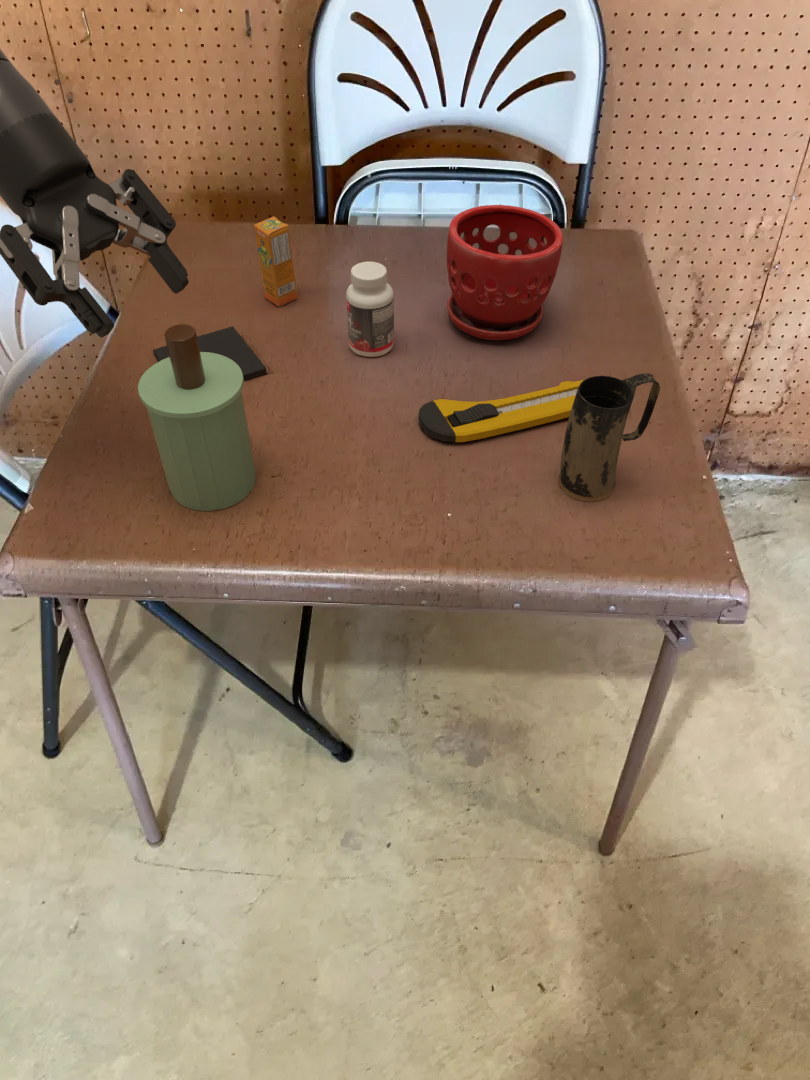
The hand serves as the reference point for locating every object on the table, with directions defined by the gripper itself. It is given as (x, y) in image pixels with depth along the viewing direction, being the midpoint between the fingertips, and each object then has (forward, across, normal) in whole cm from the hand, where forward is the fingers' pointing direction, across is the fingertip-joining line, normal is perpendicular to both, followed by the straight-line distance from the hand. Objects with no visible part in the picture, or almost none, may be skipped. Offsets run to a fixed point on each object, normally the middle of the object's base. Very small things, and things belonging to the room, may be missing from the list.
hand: (146, 309), depth 72 cm
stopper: (+7, 0, +2) cm, 7 cm away
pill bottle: (+15, +28, +11) cm, 34 cm away
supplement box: (+4, +30, +22) cm, 38 cm away
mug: (+38, +22, -12) cm, 45 cm away
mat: (+5, +14, +20) cm, 25 cm away
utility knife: (+29, +27, -4) cm, 40 cm away
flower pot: (+21, +41, +4) cm, 47 cm away
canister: (+15, 0, +10) cm, 18 cm away
